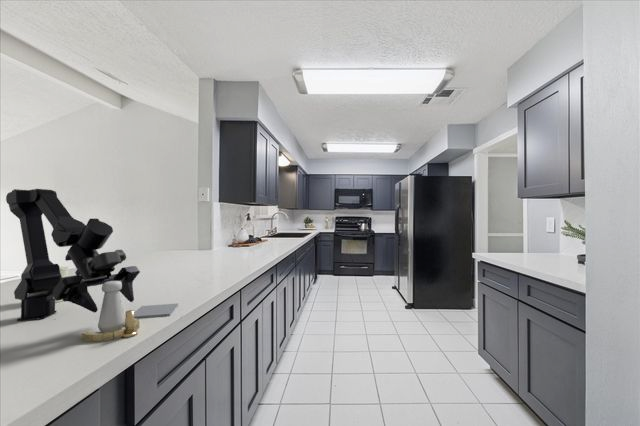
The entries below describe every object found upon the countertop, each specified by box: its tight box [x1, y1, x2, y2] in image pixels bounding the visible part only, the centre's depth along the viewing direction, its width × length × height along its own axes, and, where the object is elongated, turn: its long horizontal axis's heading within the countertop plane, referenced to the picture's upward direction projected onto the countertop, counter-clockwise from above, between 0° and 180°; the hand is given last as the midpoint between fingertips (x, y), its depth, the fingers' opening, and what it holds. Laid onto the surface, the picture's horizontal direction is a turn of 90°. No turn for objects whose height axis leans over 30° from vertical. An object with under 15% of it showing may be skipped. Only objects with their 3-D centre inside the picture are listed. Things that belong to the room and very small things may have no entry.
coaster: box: [134, 302, 179, 319], centre depth 90 cm, size 11×11×1 cm
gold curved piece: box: [81, 309, 140, 343], centre depth 73 cm, size 10×12×6 cm
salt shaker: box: [97, 281, 125, 333], centre depth 75 cm, size 6×6×13 cm
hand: (115, 305), depth 74 cm, fingers open, 9 cm apart
